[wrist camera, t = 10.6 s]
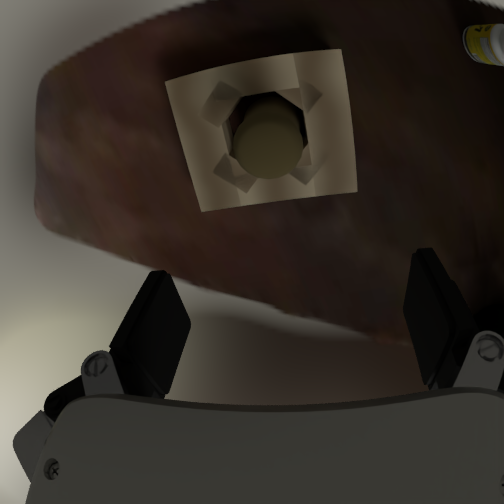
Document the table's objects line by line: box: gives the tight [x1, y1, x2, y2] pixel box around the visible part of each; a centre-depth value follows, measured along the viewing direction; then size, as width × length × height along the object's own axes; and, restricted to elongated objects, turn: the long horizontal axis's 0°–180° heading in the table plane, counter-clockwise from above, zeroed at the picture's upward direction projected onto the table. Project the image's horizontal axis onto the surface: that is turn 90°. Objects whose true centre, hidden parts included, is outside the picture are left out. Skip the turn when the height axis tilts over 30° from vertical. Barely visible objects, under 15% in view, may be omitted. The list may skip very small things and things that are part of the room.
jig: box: [165, 49, 357, 212], centre depth 27 cm, size 16×14×4 cm
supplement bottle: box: [463, 24, 504, 66], centre depth 16 cm, size 5×5×8 cm
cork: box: [233, 96, 303, 179], centre depth 24 cm, size 6×6×11 cm
